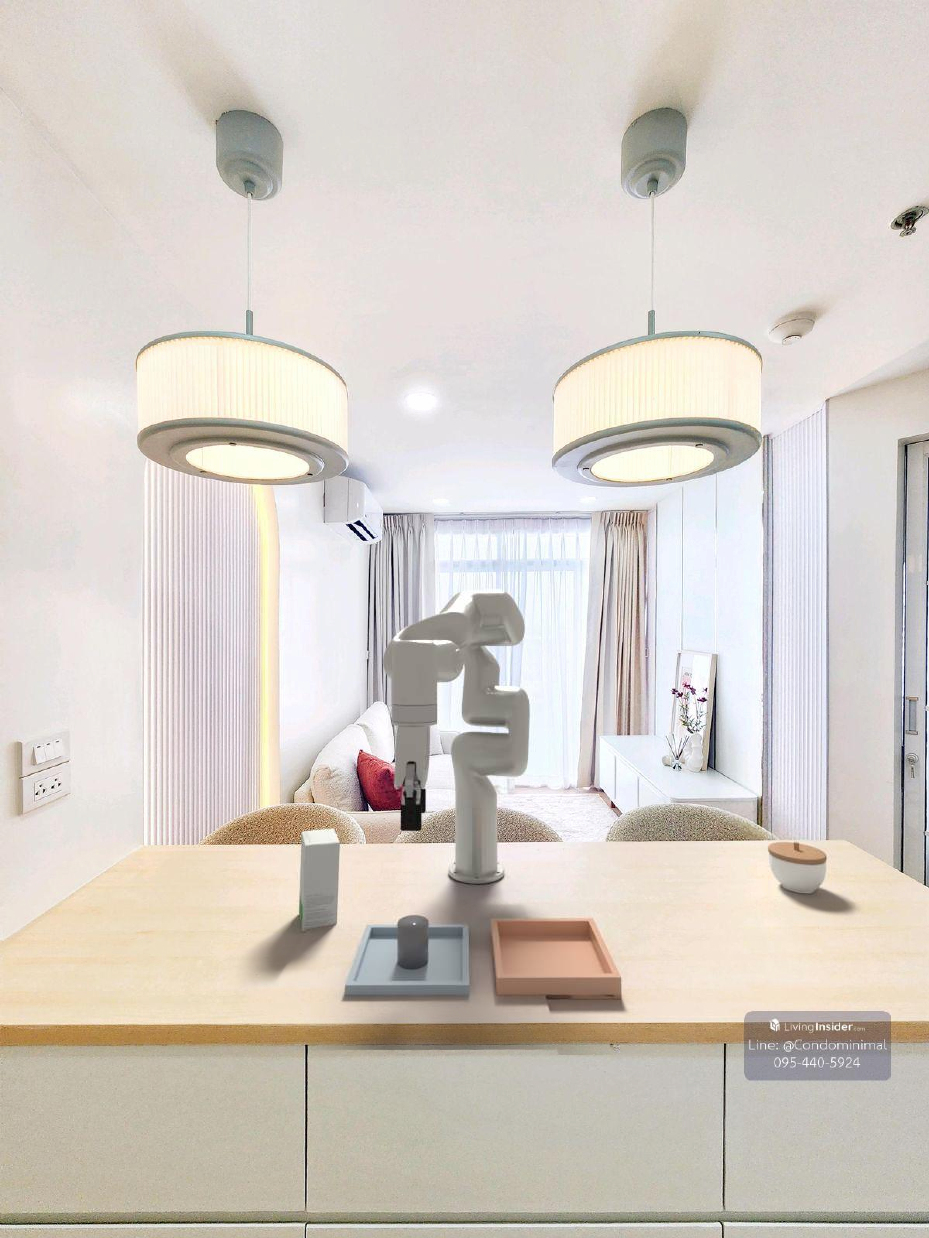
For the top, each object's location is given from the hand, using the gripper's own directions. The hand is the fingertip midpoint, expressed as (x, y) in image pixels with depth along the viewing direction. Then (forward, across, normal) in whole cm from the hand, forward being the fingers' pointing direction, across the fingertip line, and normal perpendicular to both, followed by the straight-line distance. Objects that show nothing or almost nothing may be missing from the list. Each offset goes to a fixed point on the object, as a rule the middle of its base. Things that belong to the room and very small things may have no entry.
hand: (413, 820), depth 91 cm
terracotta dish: (+23, 0, +22) cm, 32 cm away
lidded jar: (+22, -29, +79) cm, 87 cm away
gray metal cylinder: (+22, 0, 0) cm, 22 cm away
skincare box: (+23, -15, -19) cm, 33 cm away
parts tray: (+23, 0, 0) cm, 23 cm away
